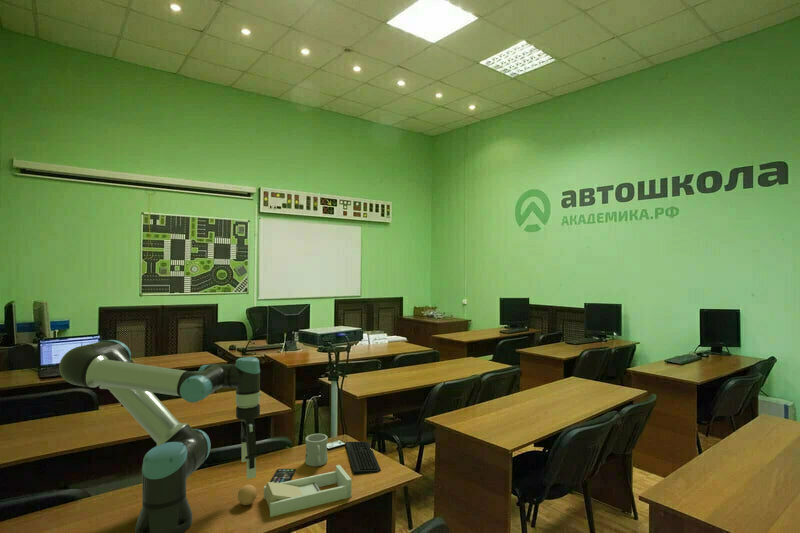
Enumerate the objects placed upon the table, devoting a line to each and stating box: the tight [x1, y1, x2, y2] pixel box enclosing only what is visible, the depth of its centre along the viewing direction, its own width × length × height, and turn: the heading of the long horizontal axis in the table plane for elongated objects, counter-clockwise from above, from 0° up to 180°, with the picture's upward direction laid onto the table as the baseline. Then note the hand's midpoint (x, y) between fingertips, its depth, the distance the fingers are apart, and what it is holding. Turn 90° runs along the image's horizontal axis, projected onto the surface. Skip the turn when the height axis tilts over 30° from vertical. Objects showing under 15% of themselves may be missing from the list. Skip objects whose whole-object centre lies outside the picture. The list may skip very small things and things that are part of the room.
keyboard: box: [345, 441, 382, 476], centre depth 180 cm, size 30×11×2 cm, turn 13°
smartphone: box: [269, 468, 297, 483], centre depth 161 cm, size 7×1×15 cm
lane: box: [263, 464, 353, 518], centre depth 147 cm, size 27×13×6 cm, turn 117°
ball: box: [237, 484, 258, 506], centre depth 143 cm, size 6×6×6 cm
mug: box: [304, 433, 329, 467], centre depth 173 cm, size 12×9×10 cm
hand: (248, 469), depth 143 cm, fingers open, 13 cm apart
